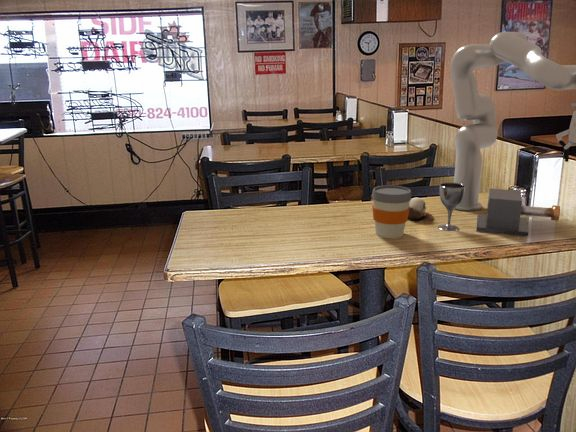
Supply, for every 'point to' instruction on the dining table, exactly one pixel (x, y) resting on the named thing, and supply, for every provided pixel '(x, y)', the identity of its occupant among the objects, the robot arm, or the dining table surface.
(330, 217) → the dining table surface
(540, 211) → the shaft
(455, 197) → the wine glass
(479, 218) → the block
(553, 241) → the dining table surface
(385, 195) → the reusable coffee cup
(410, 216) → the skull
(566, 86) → the robot arm
